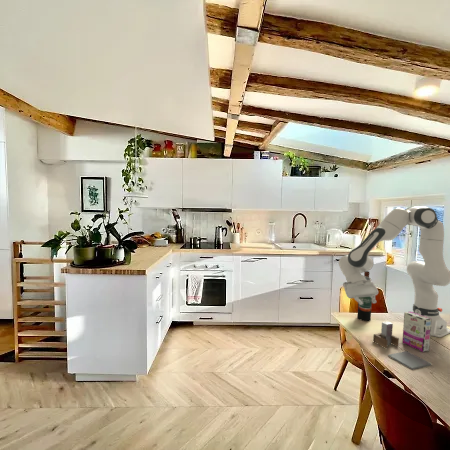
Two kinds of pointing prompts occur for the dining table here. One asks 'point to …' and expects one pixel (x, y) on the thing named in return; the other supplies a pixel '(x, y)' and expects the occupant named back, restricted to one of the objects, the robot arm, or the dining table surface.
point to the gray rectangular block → (387, 331)
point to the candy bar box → (417, 331)
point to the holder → (384, 340)
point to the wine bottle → (365, 306)
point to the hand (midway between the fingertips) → (368, 303)
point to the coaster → (409, 360)
